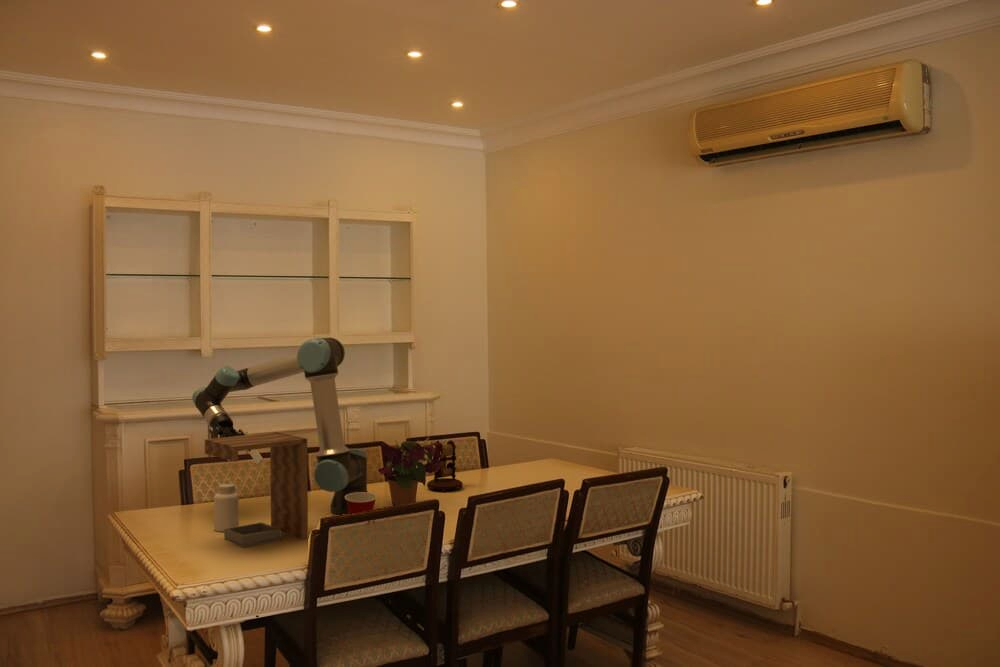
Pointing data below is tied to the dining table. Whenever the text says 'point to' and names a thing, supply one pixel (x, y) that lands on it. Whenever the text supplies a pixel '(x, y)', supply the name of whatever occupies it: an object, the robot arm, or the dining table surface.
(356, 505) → the plastic cup
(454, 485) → the dark mug tree
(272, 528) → the tray
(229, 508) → the pill bottle
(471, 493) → the dining table surface
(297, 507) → the wooden l-shaped stand
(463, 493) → the dining table surface
